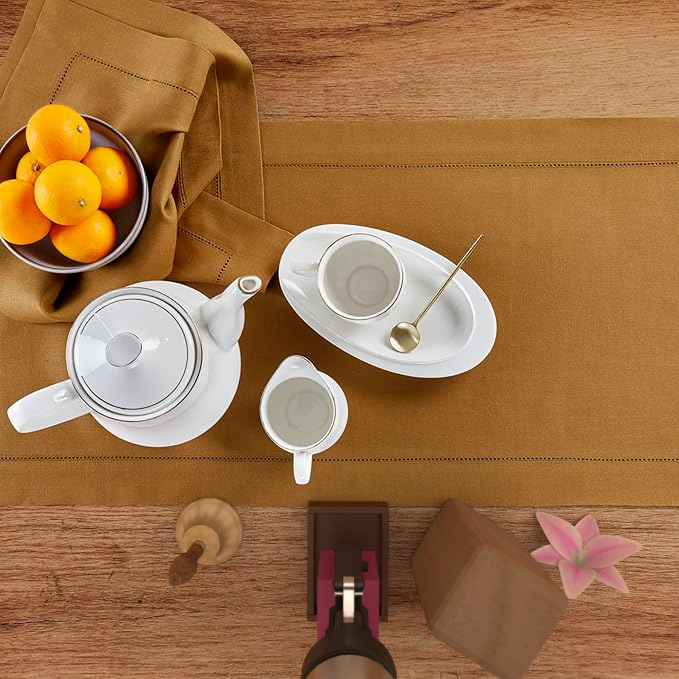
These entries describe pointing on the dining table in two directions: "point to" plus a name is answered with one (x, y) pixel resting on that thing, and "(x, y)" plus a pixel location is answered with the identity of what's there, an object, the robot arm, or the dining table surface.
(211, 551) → the hand bell
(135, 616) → the dining table surface
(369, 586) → the pink block
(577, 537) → the lily
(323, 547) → the tray
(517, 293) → the dining table surface
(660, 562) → the dining table surface
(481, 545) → the wooden block
